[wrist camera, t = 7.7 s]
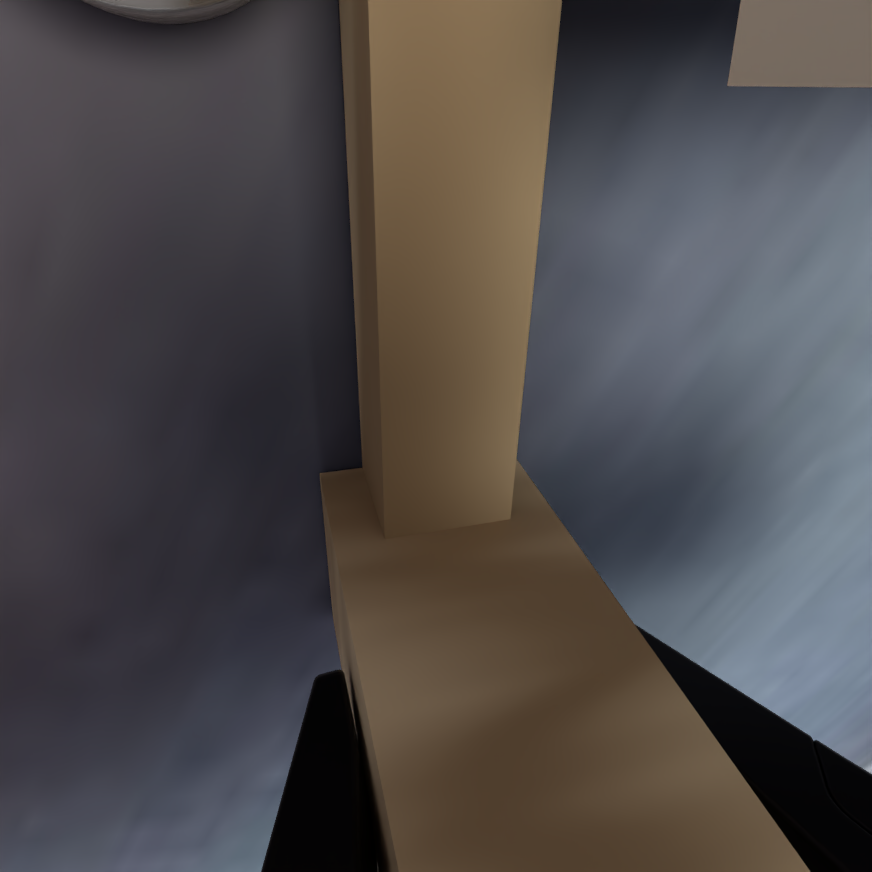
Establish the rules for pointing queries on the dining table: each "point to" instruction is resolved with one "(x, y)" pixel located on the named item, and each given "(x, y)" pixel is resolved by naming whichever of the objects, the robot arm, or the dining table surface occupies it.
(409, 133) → the tan block with post
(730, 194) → the dining table surface
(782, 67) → the miniature cream chair
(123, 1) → the token
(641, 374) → the dining table surface
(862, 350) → the dining table surface
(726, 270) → the dining table surface
